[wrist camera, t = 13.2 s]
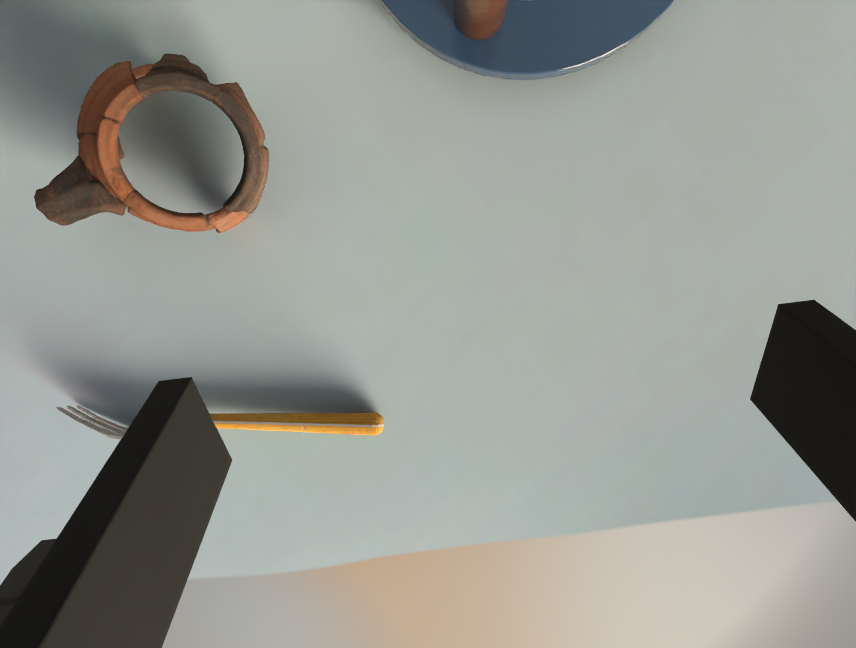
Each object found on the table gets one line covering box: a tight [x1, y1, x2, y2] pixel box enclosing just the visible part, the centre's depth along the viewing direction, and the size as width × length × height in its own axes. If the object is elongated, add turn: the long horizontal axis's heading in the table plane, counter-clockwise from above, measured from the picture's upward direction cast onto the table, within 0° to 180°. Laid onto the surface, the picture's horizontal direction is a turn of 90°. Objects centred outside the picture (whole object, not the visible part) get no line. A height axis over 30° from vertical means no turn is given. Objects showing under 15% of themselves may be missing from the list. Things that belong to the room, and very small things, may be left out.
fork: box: [57, 405, 384, 439], centre depth 31 cm, size 2×2×20 cm
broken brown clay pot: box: [34, 54, 269, 233], centre depth 27 cm, size 12×10×8 cm
